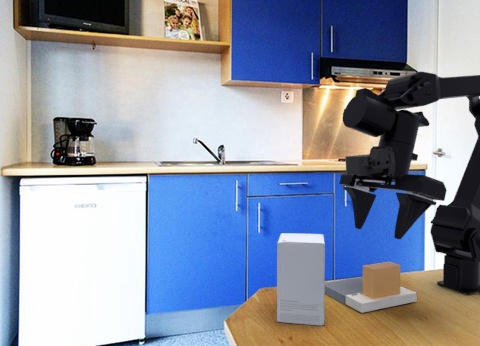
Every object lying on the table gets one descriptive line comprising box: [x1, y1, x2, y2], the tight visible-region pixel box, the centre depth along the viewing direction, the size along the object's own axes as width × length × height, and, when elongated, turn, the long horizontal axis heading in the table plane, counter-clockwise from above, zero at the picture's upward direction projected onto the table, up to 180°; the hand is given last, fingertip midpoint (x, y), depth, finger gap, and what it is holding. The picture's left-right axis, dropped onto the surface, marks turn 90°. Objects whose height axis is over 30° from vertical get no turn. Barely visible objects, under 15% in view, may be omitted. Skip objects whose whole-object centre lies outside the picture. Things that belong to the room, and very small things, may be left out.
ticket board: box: [325, 276, 363, 305], centre depth 70 cm, size 12×7×2 cm, turn 113°
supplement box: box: [276, 232, 326, 326], centre depth 60 cm, size 7×7×13 cm
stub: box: [345, 261, 418, 314], centre depth 65 cm, size 12×4×6 cm, turn 113°
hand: (376, 233), depth 64 cm, fingers open, 9 cm apart
